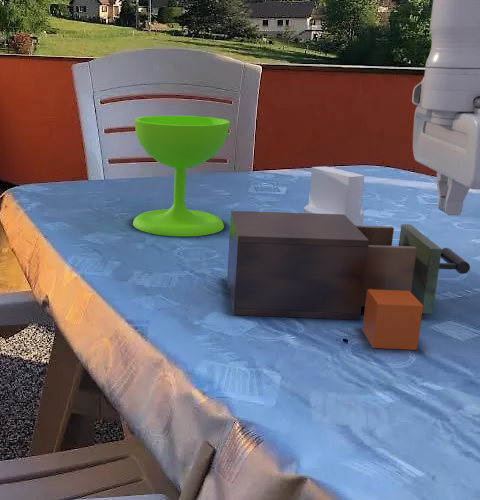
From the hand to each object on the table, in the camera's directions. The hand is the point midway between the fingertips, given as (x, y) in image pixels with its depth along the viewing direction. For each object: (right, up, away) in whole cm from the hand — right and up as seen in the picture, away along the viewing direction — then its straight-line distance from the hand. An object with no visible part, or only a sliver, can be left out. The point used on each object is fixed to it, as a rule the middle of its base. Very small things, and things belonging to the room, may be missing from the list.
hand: (448, 212), depth 84 cm
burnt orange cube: (-10, -14, -8) cm, 19 cm away
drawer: (-7, -10, +3) cm, 13 cm away
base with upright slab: (-7, -4, +28) cm, 29 cm away
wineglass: (-30, 0, +40) cm, 50 cm away
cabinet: (-18, -11, +4) cm, 21 cm away
